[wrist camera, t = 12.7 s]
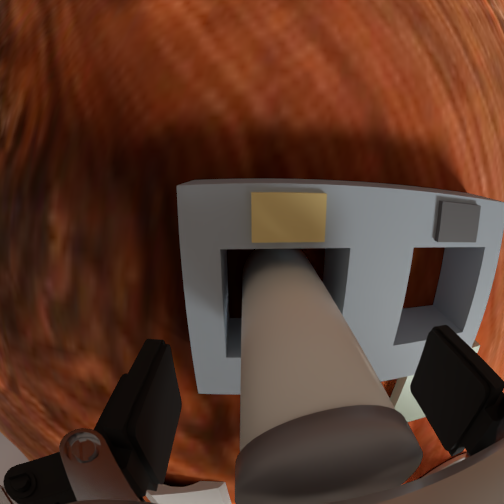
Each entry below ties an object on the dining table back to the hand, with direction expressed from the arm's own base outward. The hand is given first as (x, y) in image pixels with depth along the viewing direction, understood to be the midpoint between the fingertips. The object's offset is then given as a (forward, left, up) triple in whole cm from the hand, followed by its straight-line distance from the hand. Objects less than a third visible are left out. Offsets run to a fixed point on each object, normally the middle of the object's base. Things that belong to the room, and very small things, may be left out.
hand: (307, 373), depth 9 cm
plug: (0, 0, -8) cm, 8 cm away
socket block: (-4, 0, -8) cm, 9 cm away
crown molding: (+11, +40, -9) cm, 42 cm away
